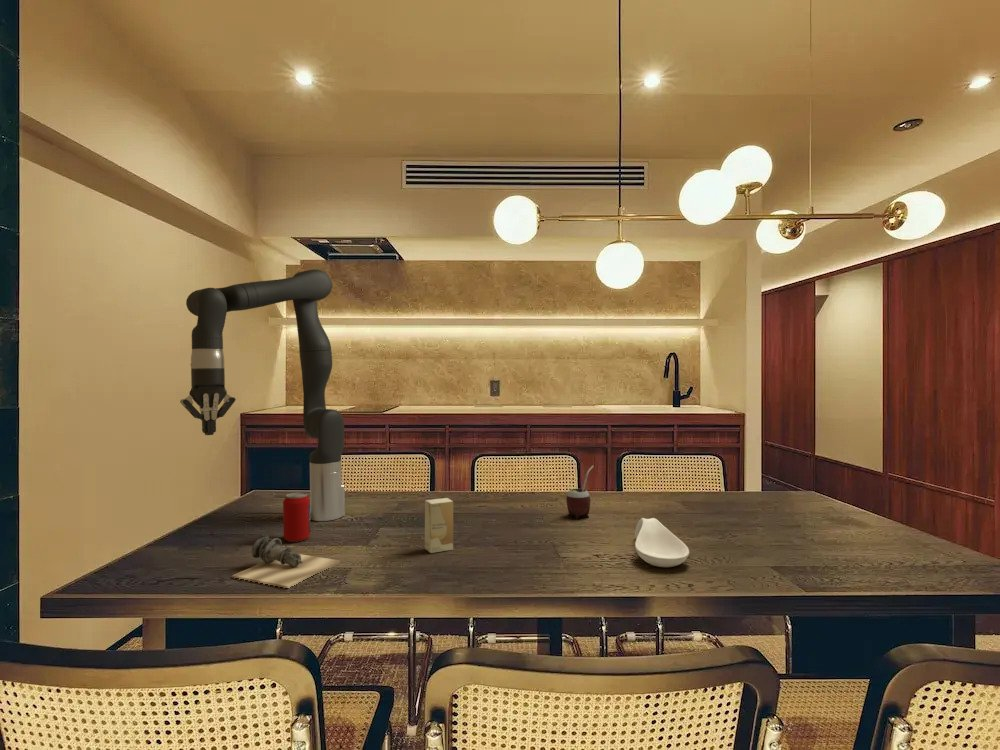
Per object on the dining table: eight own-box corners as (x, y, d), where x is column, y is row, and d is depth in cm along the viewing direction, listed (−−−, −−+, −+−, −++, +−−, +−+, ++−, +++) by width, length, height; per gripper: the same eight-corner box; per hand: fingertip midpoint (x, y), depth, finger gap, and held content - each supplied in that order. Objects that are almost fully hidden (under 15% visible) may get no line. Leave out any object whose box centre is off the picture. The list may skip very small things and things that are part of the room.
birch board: (232, 578, 118) (232, 575, 117) (288, 554, 132) (288, 552, 132) (287, 589, 111) (287, 586, 111) (340, 563, 126) (340, 560, 126)
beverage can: (316, 536, 146) (315, 492, 146) (299, 544, 140) (298, 498, 140) (295, 534, 149) (294, 491, 148) (278, 542, 142) (277, 496, 142)
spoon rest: (697, 573, 117) (696, 540, 117) (642, 574, 117) (642, 541, 117) (665, 539, 140) (664, 511, 140) (619, 539, 141) (619, 512, 141)
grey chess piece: (249, 563, 123) (292, 580, 119) (251, 540, 122) (294, 556, 118) (268, 552, 129) (310, 568, 125) (270, 529, 127) (312, 545, 124)
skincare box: (430, 554, 131) (429, 503, 131) (424, 548, 135) (423, 500, 135) (454, 549, 134) (453, 500, 134) (448, 544, 138) (447, 497, 138)
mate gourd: (564, 519, 160) (563, 468, 160) (570, 512, 167) (570, 464, 167) (588, 521, 157) (588, 469, 157) (594, 514, 164) (594, 465, 164)
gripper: (183, 367, 130) (185, 438, 131) (240, 366, 140) (241, 433, 140) (174, 367, 136) (175, 436, 136) (229, 367, 145) (231, 431, 145)
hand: (209, 434), depth 138 cm, fingers closed
